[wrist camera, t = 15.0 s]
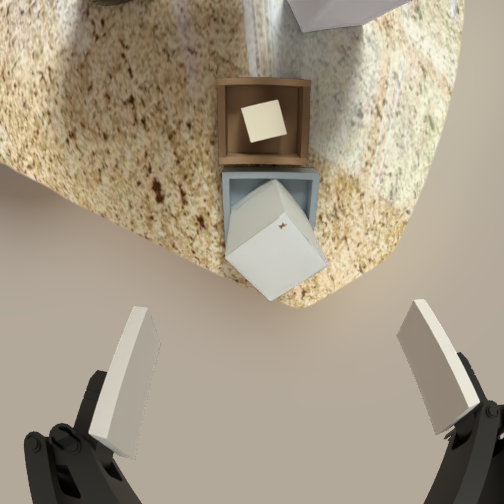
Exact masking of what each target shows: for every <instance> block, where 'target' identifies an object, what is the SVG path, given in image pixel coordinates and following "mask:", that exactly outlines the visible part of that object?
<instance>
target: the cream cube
mask: <svg viewBox="0 0 504 504" xmlns="http://www.w3.org/2000/svg"><path fill="white" fill-rule="evenodd" d="M241 110H242V113H243V117H244V120H245V124H246V127H247V131H248V134H249V138H250V141H251V143H252V142H256V141H260V140H264V139H268V138H272V137H276V136H281V135H285V134H287V132H286V128H285V125H284V121H283V117H282V113H281V109H280V105H279V102H278V100H274V101H269V102H265V103H260V104H256V105H252V106H248V107H244V108H241Z"/></svg>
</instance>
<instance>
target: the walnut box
mask: <svg viewBox="0 0 504 504" xmlns="http://www.w3.org/2000/svg"><path fill="white" fill-rule="evenodd" d="M310 83H311V80H302V79H288V78H263V77H239V78H217V108H218V149H219V164H290V165H307V161H308V143H309V120H310ZM274 100H278V102H279V105H280V109H281V113H282V117H283V121H284V125H285V128H286V132H287V134H285V135H281V136H276V137H272V138H268V139H264V140H260V141H256V142H252V143H251V141H250V138H249V134H248V131H247V127H246V124H245V120H244V117H243V113H242V110H241V108H244V107H248V106H252V105H256V104H260V103H265V102H269V101H274Z"/></svg>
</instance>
